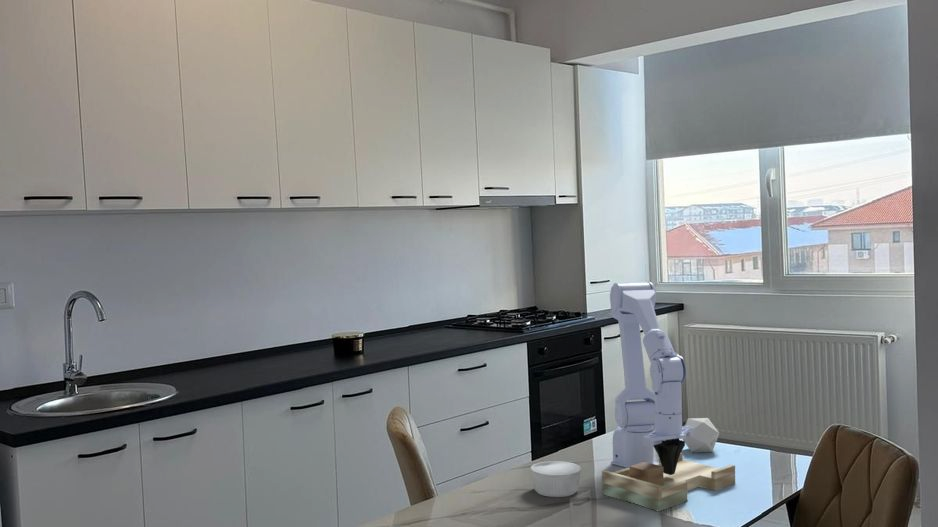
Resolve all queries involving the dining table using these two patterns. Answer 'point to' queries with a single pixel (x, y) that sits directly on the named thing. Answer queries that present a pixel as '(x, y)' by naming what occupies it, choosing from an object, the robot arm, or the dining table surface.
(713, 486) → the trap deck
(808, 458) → the dining table surface
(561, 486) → the ramekin
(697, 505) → the dining table surface
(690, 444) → the die
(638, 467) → the walnut block
